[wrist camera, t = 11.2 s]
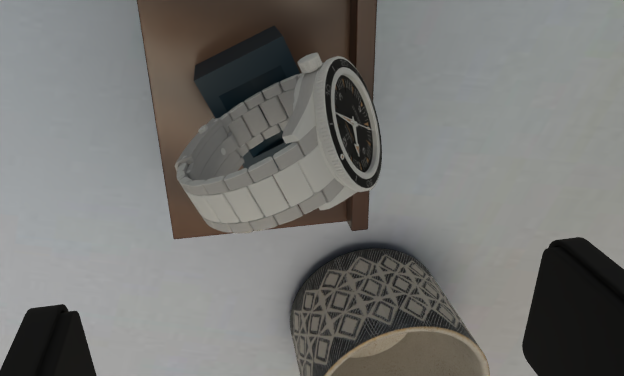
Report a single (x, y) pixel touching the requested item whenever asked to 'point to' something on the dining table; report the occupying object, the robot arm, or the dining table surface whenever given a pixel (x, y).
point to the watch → (278, 136)
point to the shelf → (222, 35)
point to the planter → (380, 321)
